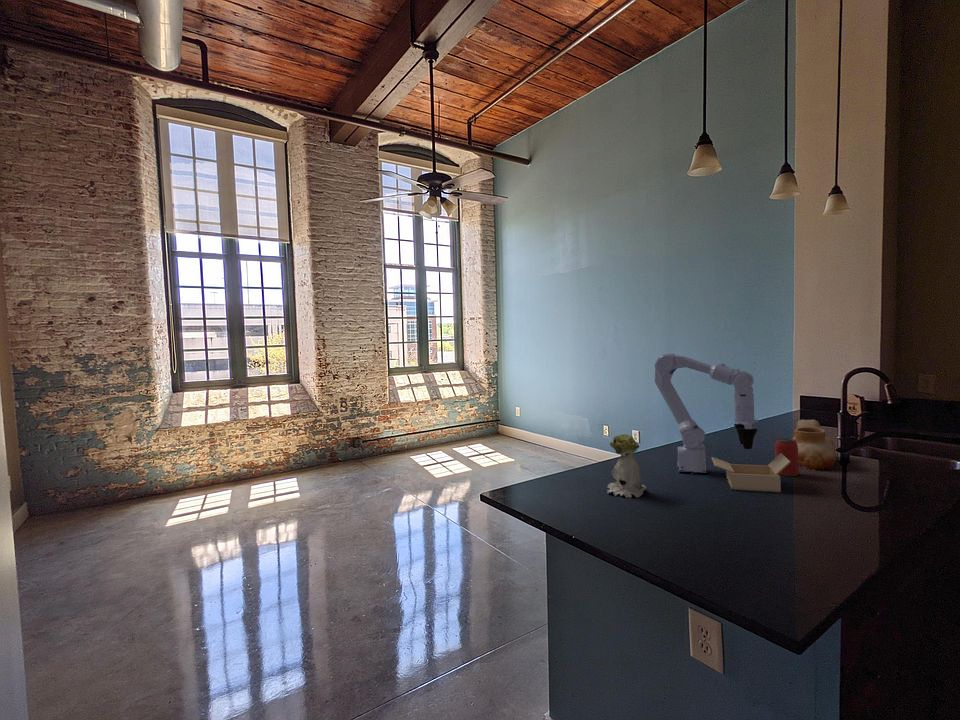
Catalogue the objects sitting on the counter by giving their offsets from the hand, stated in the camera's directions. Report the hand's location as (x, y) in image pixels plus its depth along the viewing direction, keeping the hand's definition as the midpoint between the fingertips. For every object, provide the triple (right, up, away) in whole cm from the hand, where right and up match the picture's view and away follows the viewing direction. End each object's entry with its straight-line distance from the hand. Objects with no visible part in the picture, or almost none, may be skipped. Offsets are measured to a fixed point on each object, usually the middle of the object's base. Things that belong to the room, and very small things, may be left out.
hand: (745, 446), depth 157 cm
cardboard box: (-3, -11, -9) cm, 14 cm away
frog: (-44, -13, -10) cm, 47 cm away
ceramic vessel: (+34, -9, +15) cm, 38 cm away
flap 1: (-11, -5, -6) cm, 14 cm away
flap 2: (+3, -3, -12) cm, 13 cm away
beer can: (+15, -10, +1) cm, 18 cm away
